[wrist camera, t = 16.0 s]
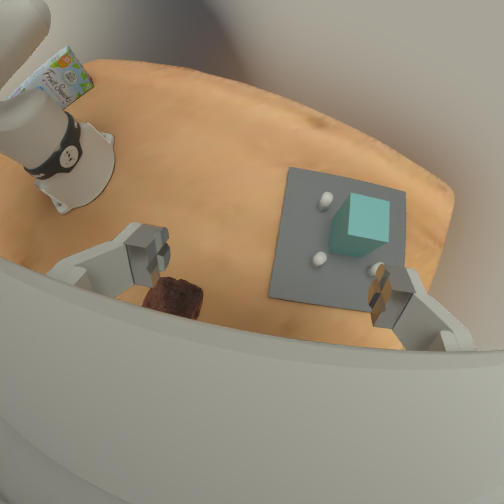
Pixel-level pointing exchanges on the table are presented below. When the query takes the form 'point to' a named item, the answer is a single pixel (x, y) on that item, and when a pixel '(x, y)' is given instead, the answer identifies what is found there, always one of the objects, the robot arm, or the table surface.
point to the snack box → (59, 79)
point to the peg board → (318, 237)
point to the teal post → (359, 226)
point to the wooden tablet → (175, 298)
